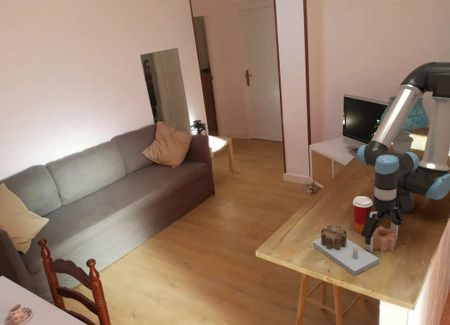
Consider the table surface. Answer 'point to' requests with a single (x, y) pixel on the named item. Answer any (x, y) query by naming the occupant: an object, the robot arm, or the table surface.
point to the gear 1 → (333, 237)
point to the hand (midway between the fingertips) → (381, 244)
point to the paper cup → (361, 211)
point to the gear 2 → (384, 239)
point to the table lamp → (408, 125)
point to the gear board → (349, 256)
